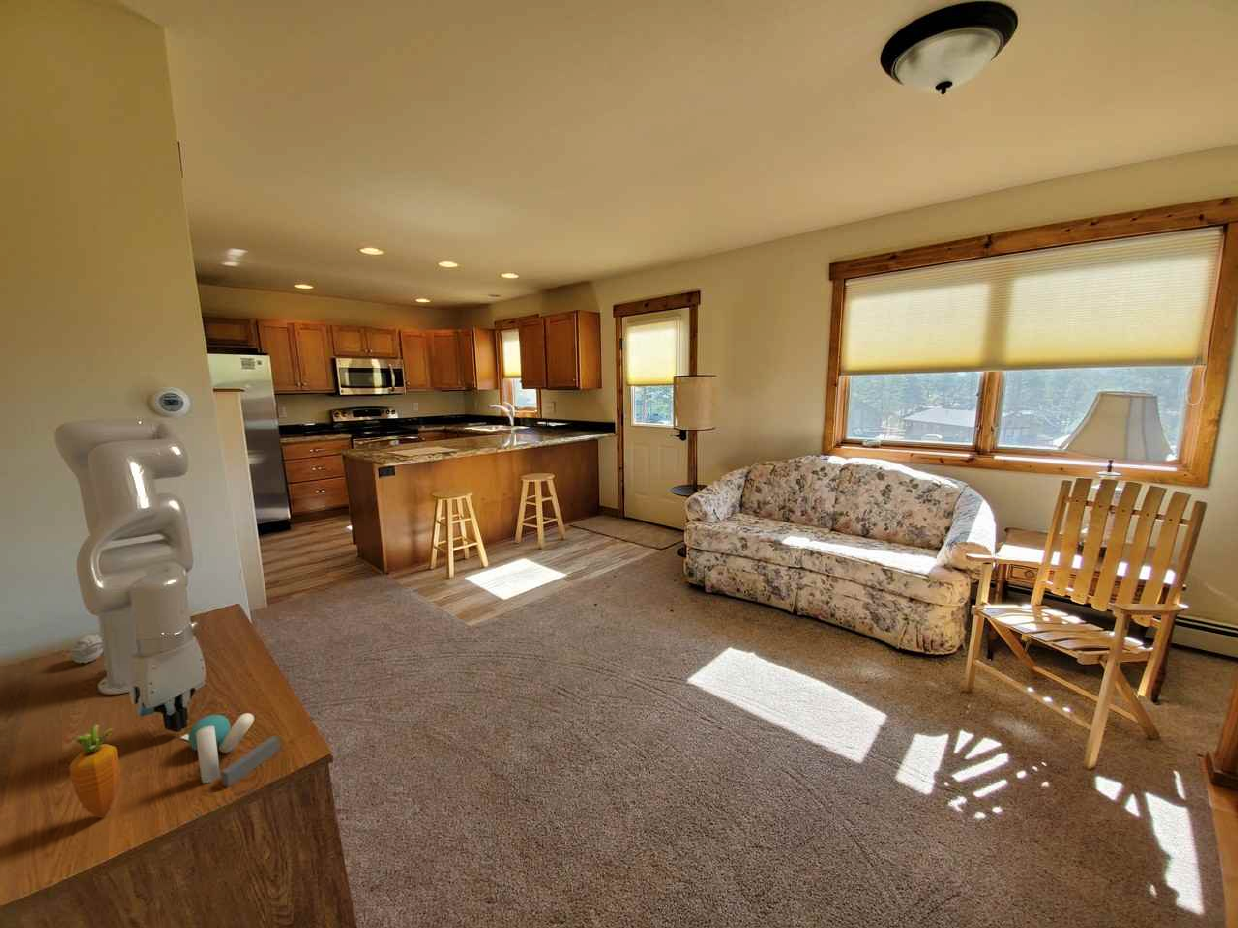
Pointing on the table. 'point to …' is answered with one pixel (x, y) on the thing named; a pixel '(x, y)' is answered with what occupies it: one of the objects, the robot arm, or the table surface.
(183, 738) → the lane line
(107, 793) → the carrot
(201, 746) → the white cylinder rod
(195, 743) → the ball
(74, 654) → the white ridged lump
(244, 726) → the ivory pin
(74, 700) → the table surface
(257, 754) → the wall
